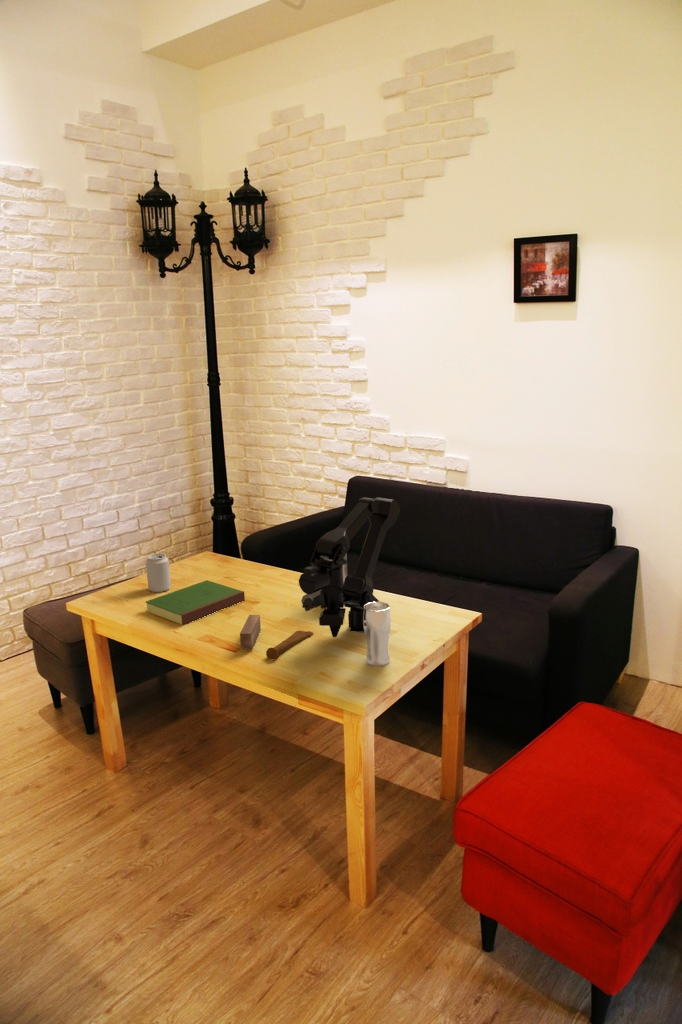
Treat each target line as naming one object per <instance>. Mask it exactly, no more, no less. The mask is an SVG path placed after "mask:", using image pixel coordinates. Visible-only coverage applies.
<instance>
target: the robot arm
mask: <svg viewBox="0 0 682 1024" xmlns="http://www.w3.org/2000/svg"><path fill="white" fill-rule="evenodd" d="M400 506H401V505H400V504H399V502H398V500H396V499H391V498H385V497H384V498H383V497H375V498H370V497H365V496H364V497H361V498H359V499H358V501H357V503H356V505H355V506H354V507H353V509H351V511H350V512H349V513H348V514H347V515H346V516H345V518H344V519H343V520H342V521H341V522H340V523H339V525H337V527H335V528H334V529H331V530H329V531H327V532H326V533H324V535H322V536H321V537H319V539H318V540H317V541H316V545H315V547H314V550H313V553H312V555H311V558H310V560H309V564H310V565H312V566H306V567H304V569H303V573H301V575H300V576H299V579H298V585H299V588H300V590H301V591H302V592H303V593H304V595H303V596H302V598H301V601H300V602H301V604H302V606H301V607H302V608H303V609H304V611H305V612H309V611H311V610H313V609H316V608H318V607H320V609H323V610H322V611H321V612H320V613H319V616H318V625H319V626H322V627H325V626H326V627H327V626H329V630H330V633H331V636H332V638H338V635H339V632H340V630H341V627H342V626H343V625H344V621H345V616H346V615H345V614H346V608H350V609H349V611H348V614H347V615H348V616H347V617H348V618H347V619H348V628H349V632H350V633H364V626H363V613H364V605H365V604H367V603H370V602H380V600H379V599H378V598H377V597H376V596H375V595H374V589H375V586H374V583H373V579H372V578H373V576H374V572H375V569H376V565H377V563H378V559H379V556H380V552H381V550H382V547H383V544H384V541H385V537H386V534H387V532H388V530H390V528H392V526H394V525H395V523H396V521H397V519H398V517H399V515H400V513H401V507H400ZM368 520H369V524H370V526H369V527H368V528H369V529H368V531H367V533H366V534H367V535H366V538H365V540H364V543H363V546H362V549H361V553H360V555H359V558H358V562H357V565H356V567H355V568H356V569H355V571H354V572H353V573H352V574H351V575H347V576H346V578H345V581H344V583H343V565H344V564H347V565H348V563H349V562H348V560H345V559H344V556H345V555H346V553H348V552H349V550H350V547H351V546H350V545H351V540H352V539H353V538H354V537H355V535H356V534H357V533H358V531H360V529H361V528H362V527H363V525H364V524H365V523H366V522H367V521H368ZM323 558H326V559H331V560H330V561H328V560H323Z"/></svg>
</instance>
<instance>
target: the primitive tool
mask: <svg viewBox="0 0 682 1024" xmlns="http://www.w3.org/2000/svg"><path fill="white" fill-rule="evenodd" d="M314 635H315V634H314V632H313V631H304V630H296V631H294V633H292V634H291V635H290V636H288V637H286V639H285V640H283V641H281V642H280V643H278V644H277V645H276V646H274V647H268V648H267V649H266V651H265V655H266V657H267V659H269V660H272V659H276V660H278V657H279V656H280V655H281V654H283V653H285V652H286V651H288V650H289V649H291V648H293V647H294V646H296V645H297V644H299V643H301V642H303V641H305V640H306V639H308V638H311V637H313V636H314Z"/></svg>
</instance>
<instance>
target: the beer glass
mask: <svg viewBox="0 0 682 1024" xmlns="http://www.w3.org/2000/svg"><path fill="white" fill-rule="evenodd" d="M390 608H391V606H390V604H389V603H387V602H383V601H379V602H370V603H367V604H365V605H364V613H363V626H364V632H363V633H364V636H365V641H366V647H367V648H366V649H367V651H366V658H365V661H366V663H367V664H368V665H370V666H372V667H382V665H383V666H386V665H388V664H390V654H389V653H390V652H389V642H390V641H389V640H390V635H391V626H392V625H391V623H392V621H391V620H392V619H391V609H390ZM387 663H388V664H387ZM385 664H386V665H385Z"/></svg>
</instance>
